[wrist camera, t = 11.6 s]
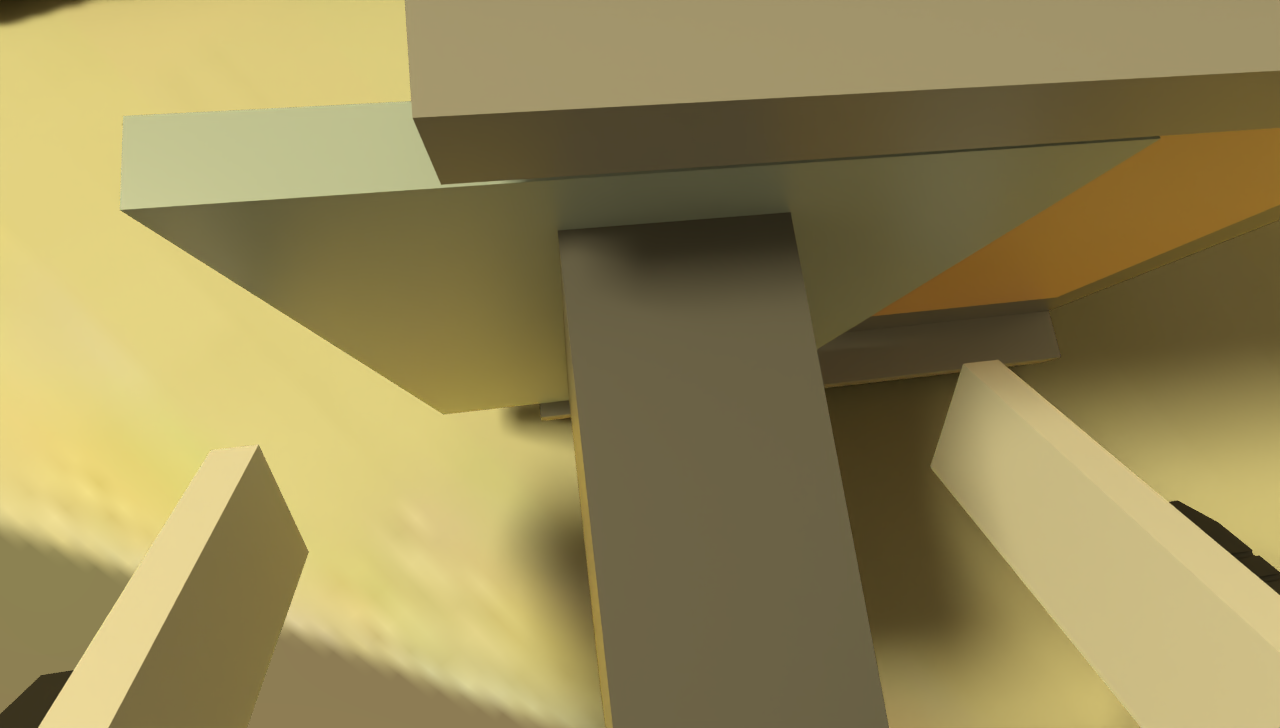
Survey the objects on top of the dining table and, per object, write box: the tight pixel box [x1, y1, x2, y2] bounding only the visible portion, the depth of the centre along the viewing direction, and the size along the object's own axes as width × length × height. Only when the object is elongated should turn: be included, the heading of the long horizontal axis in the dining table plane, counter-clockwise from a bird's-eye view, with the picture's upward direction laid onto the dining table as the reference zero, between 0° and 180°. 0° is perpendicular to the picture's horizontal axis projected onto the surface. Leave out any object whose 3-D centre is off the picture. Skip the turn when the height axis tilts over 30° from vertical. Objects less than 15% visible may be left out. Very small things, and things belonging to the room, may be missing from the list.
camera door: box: [120, 101, 1161, 728], centre depth 11 cm, size 9×8×12 cm
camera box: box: [405, 0, 1280, 421], centre depth 13 cm, size 18×12×16 cm
